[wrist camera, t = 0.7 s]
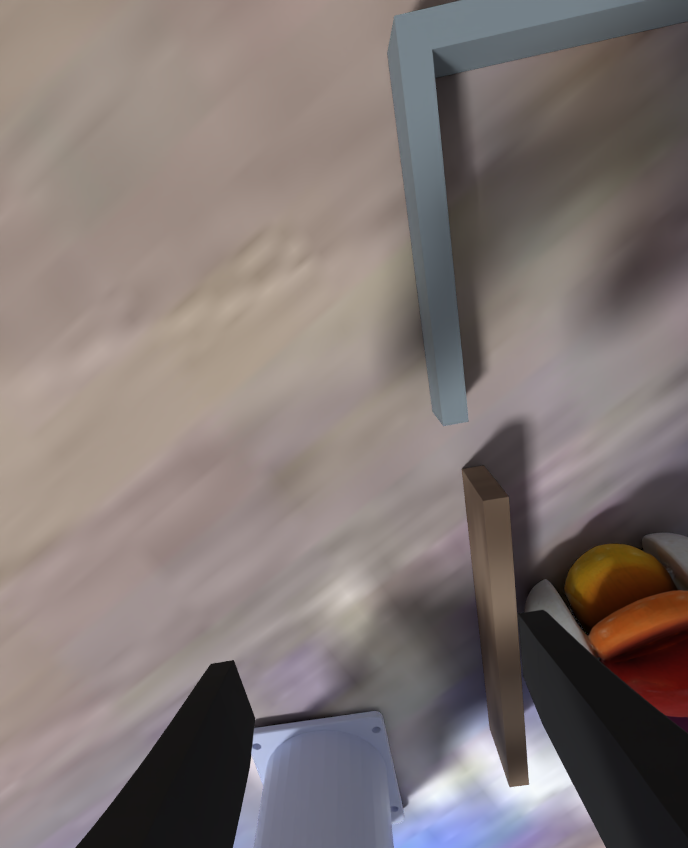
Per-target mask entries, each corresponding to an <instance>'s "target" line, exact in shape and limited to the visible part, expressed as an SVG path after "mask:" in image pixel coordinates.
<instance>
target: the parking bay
mask: <svg viewBox="0 0 688 848" xmlns="http://www.w3.org/2000/svg"><path fill="white" fill-rule="evenodd" d="M687 21H688V0H460V1H456V2H452V3H447V4H443V5H439V6H434V7H430V8H426V9H422V10H417V11H413V12H409V13H405V14H400V15H396V16H394V21H393V26H392V31H391V36H390V41H389V47H388V52H387V55H388V63H389V71H390V79H391V87H392V94H393V102H394V110H395V118H396V126H397V134H398V142H399V150H400V158H401V166H402V174H403V182H404V190H405V197H406V205H407V213H408V221H409V229H410V237H411V245H412V253H413V261H414V269H415V277H416V285H417V293H418V301H419V308H420V316H421V324H422V332H423V340H424V348H425V356H426V364H427V372H428V380H429V388H430V396H431V404H432V411H433V413H434V414H435V416H436V417H437V418H438V420H439V421H440V422H441V424H442V425H443V426H446V425H452V424H458V423H463V422H469V420H468V410H467V400H466V390H465V380H464V369H463V359H462V349H461V339H460V329H459V318H458V308H457V298H456V288H455V278H454V267H453V257H452V247H451V237H450V227H449V216H448V206H447V196H446V186H445V176H444V165H443V155H442V145H441V135H440V125H439V114H438V104H437V94H436V84H435V78H437V77H442V76H446V75H451V74H455V73H460V72H464V71H469V70H473V69H478V68H482V67H486V66H491V65H495V64H500V63H504V62H509V61H513V60H518V59H522V58H527V57H531V56H535V55H540V54H544V53H549V52H553V51H558V50H562V49H567V48H571V47H575V46H580V45H584V44H589V43H593V42H598V41H602V40H607V39H611V38H616V37H620V36H624V35H629V34H633V33H638V32H642V31H647V30H651V29H656V28H660V27H665V26H669V25H673V24H678V23H682V22H687Z"/></svg>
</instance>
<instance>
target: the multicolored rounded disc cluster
mask: <svg viewBox="0 0 688 848" xmlns="http://www.w3.org/2000/svg"><path fill="white" fill-rule="evenodd" d="M642 546H643V550H644V551H642V550H640V549H638V548H635V547H633V546H630V545H625V544H604V545H599V546H596V547H594V548H592V549H590V550H589V551H587V552H585V553H584V554H583V555H582V556H581V557H580V558H578V559H577V560H576V562H575V563H574V564H573V566H572V567H571V568H570V570H569V572H568V575H567V578H566V582H565V587H564V591H565V594H566V596H567V598H568V600H569V603H570V605H571V608H572V610H573V612H574V615H575V617H576V618H577V619H578V620H579V622H580V623H581V625H582V627H583V628H584V630H585V631H586V632H587V633H590V634H589V635H586V634H585V632H584V631H583V630H582V629H581V628H580V626H579V625H578V624H577V623H576V621H575V619H574V617H573V616H572V614H571V612H570V611H569V609H568V608H567V606H566V605H565V603H564V601H563V600H562V598H561V597H560V595H559V594H558V592H557V591H556V589H555V588H554V587H553V585H552V584H551V583H550V582H549V581H548V580H546V579H544V580H542V581H540V582H539V583H538V584H536V585H535V586H534V587H533V589H532V590H531V591H530V593H529V595H528V597H527V599H526V603H525V612H531V611H537V610H544V611H546V612H547V613H549V614H550V615H551V616H552V617H553V618H554V619H555V620H556V621H557V622H558V623H559V624H560V625H561V626H562V627H563V628H564V629H565V630H566V631H567V632H569V633H570V634H571V635H572V636H573V637H574V638H575V639H576V640H577V641H578V642H579V643H580V644H582V645H583V646H584V647H585V648H586V649H587V650H588V651H589V652H590V653H591V654H593V655H594V656H595V657H596V658H597V659H598V660H599V661H600V662H602V663H603V664H604V665H605V666H606V667H607V668H609V669H610V670H611V671H612V672H613V673H614V674H616V675H617V676H618V677H619V678H620V679H621V680H623V681H624V682H625V683H626V684H627V685H629V686H630V687H631V688H632V689H633V690H634V691H636V692H637V693H638V694H639V695H641V696H642V697H643V698H644V699H645V700H647V701H648V702H649V703H650V704H652V705H653V706H654V707H655V708H657V709H658V710H659V711H660V712H662V713H663V714H664V715H666V716H667V717H668V718H669V719H671V720H672V721H673V722H674V723H676V724H677V725H678V726H680V727H681V728H682V729H683V730H685V731H686V732H687V733H688V537H686V536H683V535H680V534H674V533H653V534H648V535H645V536H644V537H643V539H642Z"/></svg>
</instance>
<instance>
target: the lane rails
mask: <svg viewBox="0 0 688 848" xmlns="http://www.w3.org/2000/svg"><path fill="white" fill-rule="evenodd" d="M462 475H463V485H464V494H465V503H466V513H467V522H468V531H469V540H470V550H471V559H472V568H473V578H474V587H475V596H476V605H477V615H478V624H479V633H480V643H481V652H482V661H483V671H484V680H485V689H486V698H487V708H488V717H489V726H490V731H491V734H492V737H493V739H494V742H495V745H496V748H497V751H498V754H499V757H500V760H501V763H502V766H503V769H504V772H505V775H506V778H507V781H508V784H509V787H514V786H522V785H529V779H528V765H527V750H526V736H525V722H524V707H523V693H522V679H521V664H520V650H519V636H518V621H517V607H516V593H515V578H514V564H513V550H512V535H511V521H510V507H509V496H508V495H507V494H506V493H505V491H504V490H503V489H502V488H501V486H500V485H499V484H498V483H497V481H496V480H495V479H494V478H493V476H492V475H491V474H490V473H489V471H488V470H487V469H486V468H485V466H484V465H482V466H476V467H471V468H465V469H462Z"/></svg>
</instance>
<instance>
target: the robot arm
mask: <svg viewBox="0 0 688 848" xmlns="http://www.w3.org/2000/svg"><path fill="white" fill-rule="evenodd" d="M518 621H519V632H520V643H521V655H522V666H523V677H524V679H525V682H526V684H527V687H528V689H529V692H530V694H531V697H532V699H533V702H534V704H535V707H536V709H537V712H538V714H539V717H540V719H541V721H542V724H543V726H544V728H545V730H546V732H547V734H548V736H549V738H550V740H551V742H552V744H553V746H554V748H555V750H556V751H557V753H558V755H559V757H560V759H561V761H562V763H563V765H564V767H565V769H566V771H567V773H568V775H569V777H570V779H571V781H572V783H573V785H574V786H575V788H576V790H577V792H578V794H579V796H580V798H581V800H582V802H583V804H584V806H585V808H586V810H587V812H588V814H589V816H590V817H591V819H592V821H593V823H594V825H595V827H596V829H597V831H598V833H599V835H600V837H601V839H602V841H603V843H604V845H605V847H606V848H688V733H687V732H686V731H685V730H683V729H682V728H681V727H680V726H678V725H677V724H676V723H674V722H673V721H672V720H671V719H669V718H668V717H667V716H666V715H664V714H663V713H662V712H660V711H659V710H658V709H657V708H655V707H654V706H653V705H652V704H650V703H649V702H648V701H647V700H645V699H644V698H643V697H642V696H641V695H639V694H638V693H637V692H636V691H634V690H633V689H632V688H631V687H630V686H629V685H627V684H626V683H625V682H624V681H623V680H621V679H620V678H619V677H618V676H617V675H616V674H614V673H613V672H612V671H611V670H610V669H609V668H607V667H606V666H605V665H604V664H603V663H602V662H600V661H599V660H598V659H597V658H596V657H595V656H594V655H593V654H591V653H590V652H589V651H588V650H587V649H586V648H585V647H584V646H583V645H582V644H580V643H579V642H578V641H577V640H576V639H575V638H574V637H573V636H572V635H571V634H570V633H569V632H567V631H566V630H565V629H564V628H563V627H562V626H561V625H560V624H559V623H558V622H557V621H556V620H555V619H554V618H553V617H552V616H551V615H550V614H549V613H547V612H546V611H544V610H537V611H531V612H525V613H519V614H518ZM254 724H255V717H254V714H253V711H252V708H251V706H250V703H249V700H248V698H247V695H246V692H245V689H244V687H243V684H242V681H241V679H240V676H239V673H238V670H237V668H236V665H235V662H234V660H232V661H226V662H220V663H214V664H211V665H210V666H209V667H208V669H207V670H206V672H205V673H204V674H203V676H202V677H201V679H200V680H199V682H198V683H197V685H196V686H195V687H194V689H193V690H192V692H191V693H190V695H189V696H188V698H187V699H186V701H185V702H184V704H183V705H182V707H181V708H180V709H179V711H178V712H177V714H176V715H175V717H174V718H173V720H172V721H171V723H170V724H169V725H168V727H167V728H166V730H165V731H164V733H163V734H162V735H161V737H160V738H159V740H158V741H157V742H156V744H155V745H154V747H153V748H152V750H151V751H150V752H149V754H148V755H147V757H146V758H145V759H144V761H143V762H142V763H141V765H140V766H139V768H138V769H137V770H136V772H135V773H134V774H133V775H132V777H131V778H130V779H129V781H128V782H127V783H126V785H125V786H124V787H123V789H122V790H121V791H120V793H119V794H118V795H117V797H116V798H115V799H114V801H113V802H112V803H111V805H110V806H109V807H108V808H107V810H106V811H105V812H104V813H103V815H102V816H101V817H100V818H99V820H98V821H97V822H96V823H95V825H94V826H93V827H92V828H91V830H90V831H89V832H88V833H87V835H86V836H85V837H84V838H83V839H82V841H81V842H80V843H79V844H78V845H77V846H76V848H233V844H234V840H235V835H236V830H237V826H238V821H239V817H240V812H241V807H242V802H243V798H244V793H245V788H246V783H247V778H248V773H249V768H250V761H251V755H252V757H253V760H254V763H255V765H256V768H257V771H258V773H259V776H260V779H261V781H262V784H263V791H262V797H261V804H260V810H259V816H258V823H257V829H256V835H255V842H254V848H394V845H393V834H392V824H399V823H401V822H403V820H404V810H403V805H402V801H401V796H400V792H399V787H398V783H397V778H396V774H395V769H394V764H393V760H392V755H391V751H390V746H389V742H388V737H387V733H386V728H385V723H384V719H383V716H382V714H381V713H380V712H377V711H371V712H364V713H357V714H350V715H342V716H335V717H328V718H321V719H314V720H307V721H300V722H293V723H286V724H279V725H272V726H265V727H258V728H254Z"/></svg>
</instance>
